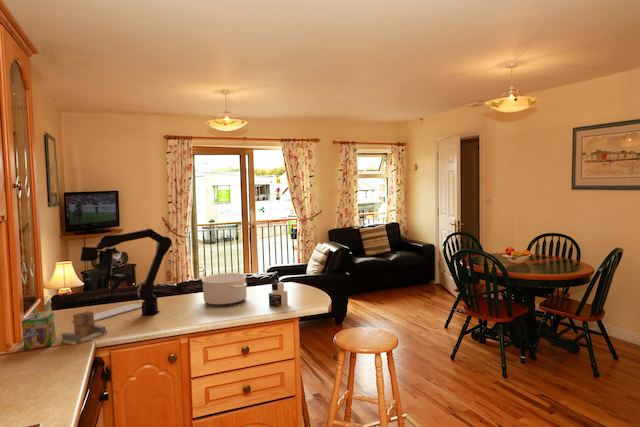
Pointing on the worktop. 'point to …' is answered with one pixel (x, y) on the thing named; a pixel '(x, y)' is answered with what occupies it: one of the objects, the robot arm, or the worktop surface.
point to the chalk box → (38, 330)
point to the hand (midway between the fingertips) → (102, 295)
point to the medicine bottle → (278, 295)
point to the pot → (224, 289)
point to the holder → (77, 339)
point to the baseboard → (116, 311)
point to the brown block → (84, 324)
